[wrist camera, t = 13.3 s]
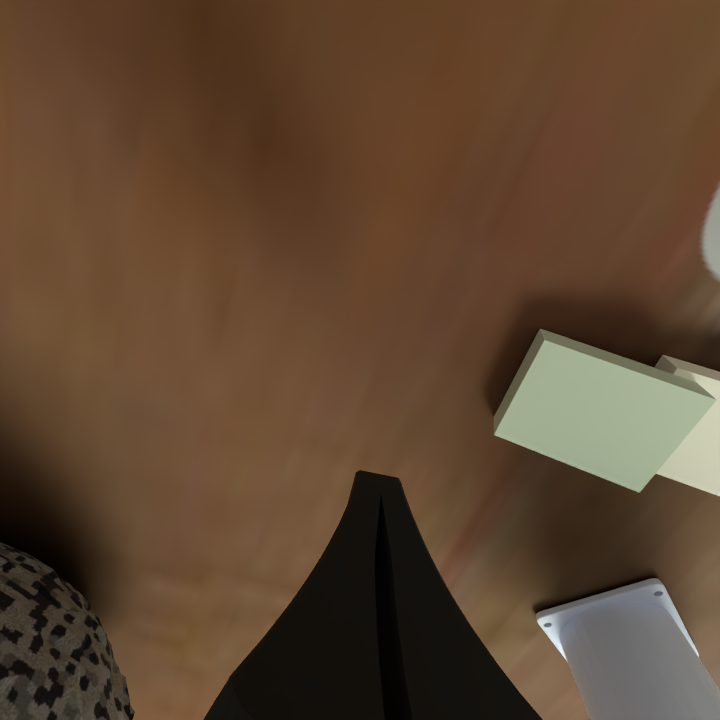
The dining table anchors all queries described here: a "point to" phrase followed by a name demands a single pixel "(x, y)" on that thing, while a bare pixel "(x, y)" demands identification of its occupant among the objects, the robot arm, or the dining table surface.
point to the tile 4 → (696, 433)
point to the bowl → (53, 649)
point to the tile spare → (598, 410)
